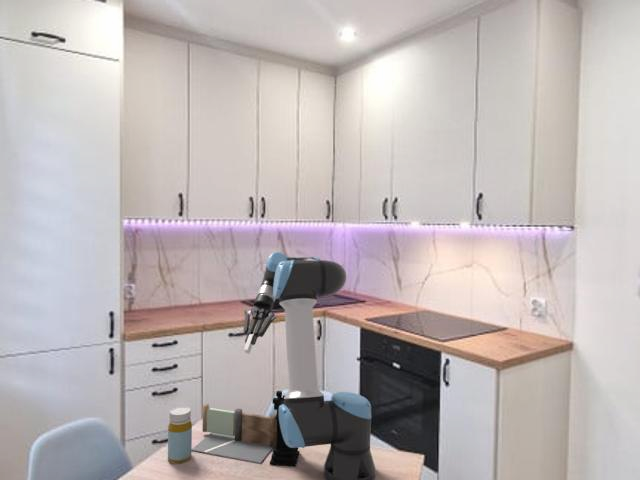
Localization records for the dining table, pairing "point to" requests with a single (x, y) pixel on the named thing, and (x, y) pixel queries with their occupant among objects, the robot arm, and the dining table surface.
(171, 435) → the bottle
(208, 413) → the fence panel
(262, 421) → the walnut fence section
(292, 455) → the chess piece
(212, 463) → the dining table surface
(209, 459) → the dining table surface
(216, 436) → the board
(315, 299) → the robot arm
